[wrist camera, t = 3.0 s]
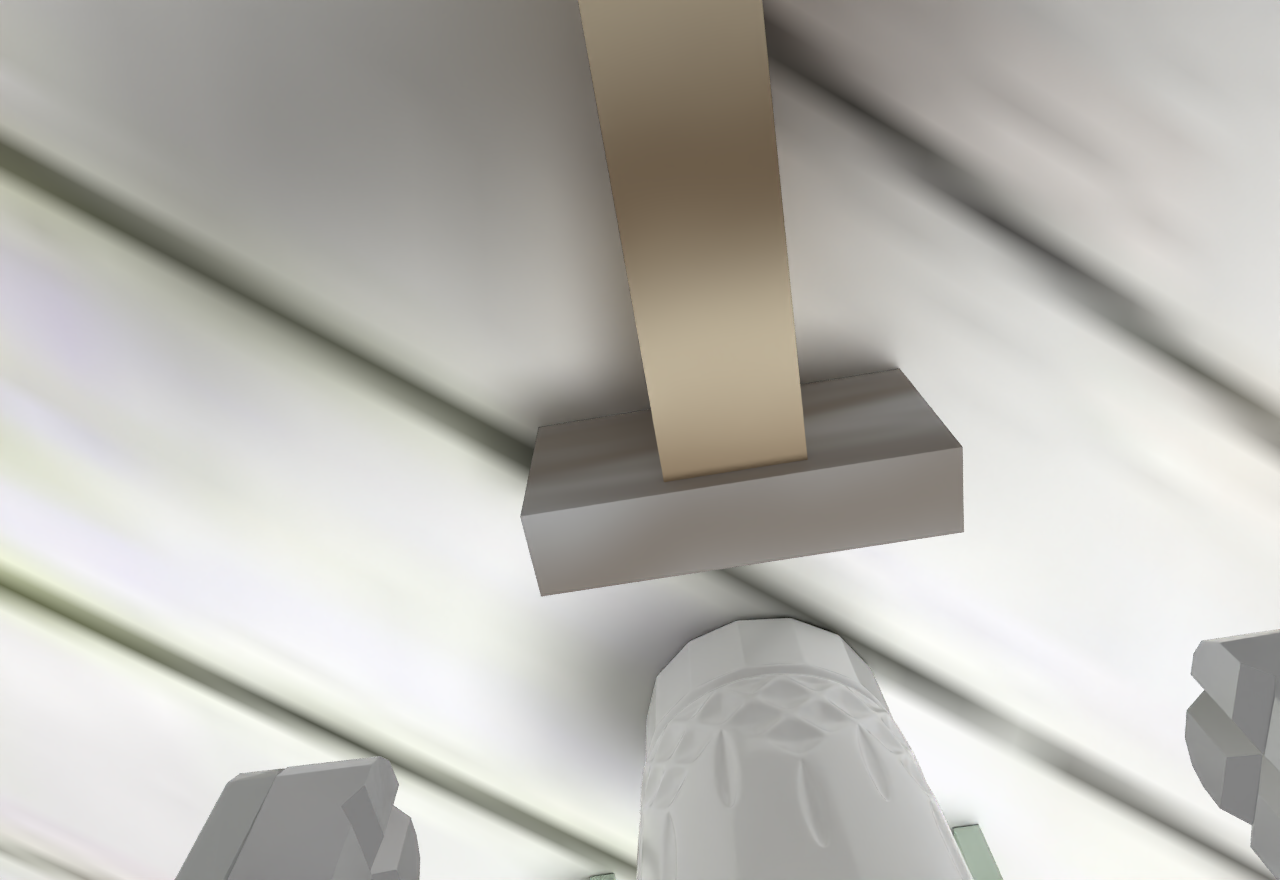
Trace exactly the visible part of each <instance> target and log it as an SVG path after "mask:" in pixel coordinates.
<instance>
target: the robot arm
mask: <svg viewBox="0 0 1280 880" xmlns="http://www.w3.org/2000/svg"><path fill="white" fill-rule="evenodd" d="M1191 675H1192V676H1193V678H1194V679H1195V680H1196V681H1197V682H1198V683H1199V684H1200V685H1201V687H1202V688H1203V689H1204V691H1203V692H1202V693H1201V695H1200V696H1199V697H1198V698H1197V699H1196V700H1195V701H1194V703H1193V704H1192V705H1191V706H1190V707H1189V708H1188V709H1187V712H1186V728H1185V740H1186V744H1187V747H1188V751H1189V755H1190V759H1191V763H1192V766H1193V768H1194V770H1195V772H1196V774H1197V776H1198V777H1199V779H1200V781H1201V783H1202V785H1203V787H1204V788H1205V790H1206V791H1207V792H1208V793H1209V795H1210V796H1211V797H1212V799H1213V800H1214V801H1215V803H1216V804H1217V805H1218V806H1219V808H1220V809H1222V810H1224V811H1226V812H1228V813H1230V814H1232V815H1234V816H1236V817H1237V818H1239V819H1241V820H1243V821H1245V822H1247V823H1249V824H1251V825H1252V830H1251V846H1250V847H1251V848H1252V849H1253V850H1254V852H1255V853H1256V854H1257V855H1258V857H1259V858H1260V859H1261V860H1262V862H1263V863H1264V864H1265V865H1266V867H1267V868H1268V869H1269V870H1270V872H1271V873H1272V874H1273V875H1274V876H1275V878H1276V879H1277V880H1280V629H1277V630H1271V631H1264V632H1257V633H1250V634H1244V635H1237V636H1230V637H1223V638H1216V639H1210V640H1203V641H1201V642H1200V644H1199V646H1198V647H1197V649H1196V650H1195V652H1194V654H1193V661H1192V669H1191ZM398 786H399V784H398V781H397V779H396V776H395V774H394V771H393V769H392V766H391V764H390V761H389V760H387V759H385V758H383V757H380V756H378V757H369V758H361V759H352V760H344V761H335V762H326V763H318V764H309V765H301V766H292V767H287V768H286V769H274V770H266V771H257V772H249V773H240V774H239V775H237V776H236V777H235V778H233V779H232V780H230V781H229V782H228V783H227V784H226V786H225V788H224V789H223V791H222V793H221V795H220V797H219V799H218V801H217V802H216V804H215V806H214V808H213V810H212V812H211V814H210V815H209V817H208V819H207V821H206V823H205V825H204V827H203V828H202V830H201V832H200V834H199V836H198V838H197V840H196V841H195V843H194V845H193V847H192V849H191V851H190V852H189V854H188V856H187V858H186V860H185V862H184V864H183V865H182V867H181V869H180V871H179V873H178V875H177V877H176V878H175V880H419V876H420V854H419V848H418V842H417V835H416V832H415V829H414V826H413V823H412V820H411V818H410V817H409V816H408V815H406V814H405V813H404V812H402V811H401V810H399V809H398V808H397V807H395V806H394V805H393V804H394V800H395V797H396V793H397V790H398Z"/></svg>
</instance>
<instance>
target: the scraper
mask: <svg viewBox="0 0 1280 880" xmlns="http://www.w3.org/2000/svg"><path fill="white" fill-rule="evenodd" d="M578 3H579V9H580V15H581V20H582V26H583V31H584V37H585V43H586V48H587V54H588V59H589V65H590V71H591V76H592V82H593V87H594V93H595V99H596V104H597V110H598V115H599V121H600V127H601V132H602V138H603V144H604V149H605V155H606V160H607V166H608V172H609V177H610V183H611V188H612V194H613V200H614V205H615V211H616V216H617V222H618V228H619V233H620V239H621V244H622V250H623V256H624V261H625V267H626V272H627V278H628V284H629V289H630V295H631V300H632V306H633V312H634V317H635V323H636V328H637V334H638V340H639V345H640V351H641V356H642V362H643V368H644V373H645V379H646V384H647V390H648V396H649V401H650V407H651V409H648V410H642V411H636V412H630V413H624V414H618V415H611V416H605V417H599V418H593V419H587V420H581V421H574V422H568V423H562V424H556V425H550V426H544V427H539V428H538V433H537V438H536V443H535V448H534V453H533V457H532V462H531V467H530V472H529V477H528V482H527V487H526V491H525V496H524V501H523V506H522V511H521V516H520V517H521V521H522V525H523V529H524V533H525V536H526V540H527V544H528V548H529V552H530V555H531V559H532V563H533V567H534V571H535V575H536V578H537V582H538V586H539V590H540V594H541V596H547V595H553V594H560V593H566V592H573V591H580V590H586V589H593V588H599V587H606V586H612V585H619V584H626V583H632V582H639V581H645V580H652V579H659V578H665V577H672V576H678V575H685V574H691V573H698V572H705V571H711V570H718V569H724V568H731V567H737V566H744V565H751V564H757V563H764V562H770V561H777V560H783V559H790V558H797V557H803V556H810V555H816V554H823V553H830V552H836V551H843V550H849V549H856V548H862V547H869V546H876V545H882V544H889V543H895V542H902V541H908V540H915V539H922V538H928V537H935V536H941V535H948V534H954V533H961V532H964V513H963V450H962V446H961V445H960V443H959V442H958V441H957V440H956V438H955V437H954V436H953V435H952V433H951V432H950V431H949V430H948V428H947V427H946V426H945V425H944V423H943V422H942V421H941V420H940V418H939V417H938V416H937V415H936V413H935V412H934V411H933V410H932V408H931V407H930V406H929V405H928V403H927V402H926V401H925V400H924V398H923V397H922V396H921V395H920V393H919V392H918V391H917V390H916V388H915V387H914V386H913V385H912V383H911V382H910V381H909V380H908V378H907V377H906V376H905V375H904V373H903V372H902V371H901V370H900V369H894V370H888V371H882V372H876V373H869V374H863V375H857V376H851V377H845V378H839V379H833V380H826V381H820V382H814V383H808V384H802V385H800V377H799V367H798V357H797V347H796V337H795V327H794V317H793V307H792V296H791V286H790V276H789V266H788V256H787V246H786V236H785V226H784V216H783V206H782V196H781V186H780V175H779V165H778V155H777V145H776V135H775V125H774V115H773V105H772V95H771V85H770V75H769V65H768V54H767V44H766V34H765V24H764V14H763V4H762V0H578Z"/></svg>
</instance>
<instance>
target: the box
mask: <svg viewBox="0 0 1280 880" xmlns="http://www.w3.org/2000/svg"><path fill="white" fill-rule="evenodd" d="M954 838H955V840H956V842H957V844H958V847H959V849H960V851H961V853H962V855H963V857H964V860H965V862H966V864H967V866H968V868H969V871H970V873H971V875H972V877H973V879H974V880H1003V878H1002V876H1001V874H1000V871H999V869H998V867H997V865H996V862H995V860H994V858H993V856H992V853H991V851H990V849H989V847H988V844H987V842H986V840H985V838H984V835H983V833H982V831H981V829H980V826H979V825H974V826H967V827H959V828H954ZM590 880H616V879H615V875H614V874H608V875H601V876H593V877H590Z"/></svg>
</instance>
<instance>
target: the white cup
mask: <svg viewBox="0 0 1280 880" xmlns="http://www.w3.org/2000/svg"><path fill="white" fill-rule="evenodd" d="M637 880H974V879H973V877H972V875H971V873H970V871H969V868H968V866H967V864H966V862H965V860H964V857H963V855H962V853H961V851H960V849H959V847H958V844H957V842H956V840H955V838H954V836H953V834H952V831H951V829H950V827H949V825H948V823H947V821H946V818H945V816H944V814H943V812H942V810H941V808H940V806H939V804H938V802H937V800H936V798H935V796H934V794H933V793H932V791H931V789H930V787H929V786H928V784H927V782H926V780H925V778H924V775H923V773H922V771H921V768H920V766H919V764H918V762H917V759H916V757H915V755H914V753H913V751H912V749H911V747H910V746H909V744H908V742H907V741H906V739H905V737H904V735H903V734H902V732H901V731H900V729H899V727H898V726H897V724H896V723H895V721H894V720H893V717H892V715H891V713H890V711H889V708H888V706H887V704H886V701H885V699H884V697H883V695H882V692H881V690H880V688H879V686H878V683H877V681H876V679H875V677H874V674H873V672H872V670H871V668H870V667H869V666H868V665H867V664H866V663H865V662H864V661H863V660H862V659H861V658H860V657H859V656H858V655H857V653H856V652H855V651H854V650H853V649H852V648H851V647H850V646H849V645H848V644H847V643H846V642H845V641H844V640H843V639H842V638H841V637H840V636H839V635H837V634H835V633H832V632H829V631H826V630H823V629H820V628H818V627H815V626H812V625H809V624H806V623H804V622H801V621H798V620H795V619H792V618H779V619H757V620H738V621H735V622H732V623H730V624H728V625H725V626H723V627H721V628H718V629H716V630H714V631H712V632H709V633H707V634H705V635H703V636H700V637H698V638H696V639H693V640H691V641H689V642H688V643H687V644H686V645H685V646H684V647H683V649H682V650H681V651H680V652H679V653H678V654H677V655H676V656H675V657H674V658H673V659H672V660H671V662H670V663H669V664H668V665H667V666H666V667H665V668H664V669H663V670H662V671H661V672H660V673H659V675H658V676H657V677H656V681H655V685H654V689H653V693H652V698H651V702H650V706H649V710H648V714H647V720H646V763H645V765H644V770H643V777H642V787H641V804H640V825H639V836H638V852H637Z"/></svg>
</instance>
